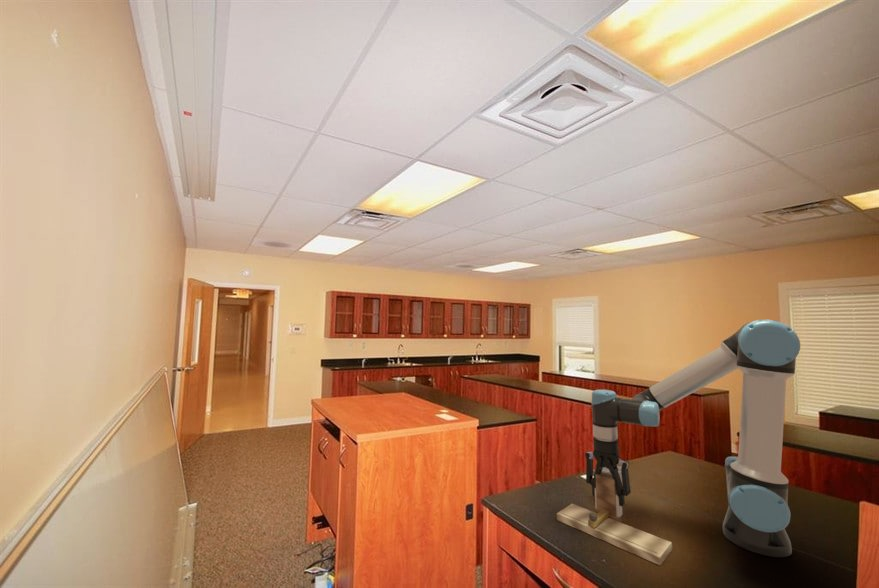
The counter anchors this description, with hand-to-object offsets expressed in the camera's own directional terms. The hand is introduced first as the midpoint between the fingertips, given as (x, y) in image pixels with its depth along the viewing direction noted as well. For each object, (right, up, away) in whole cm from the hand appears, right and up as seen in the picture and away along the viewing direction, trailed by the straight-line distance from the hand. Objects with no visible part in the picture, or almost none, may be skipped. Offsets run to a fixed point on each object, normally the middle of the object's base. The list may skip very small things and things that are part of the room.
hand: (608, 511), depth 116 cm
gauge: (-4, -3, -4) cm, 6 cm away
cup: (+6, -4, +11) cm, 14 cm away
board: (-3, -2, -8) cm, 9 cm away
